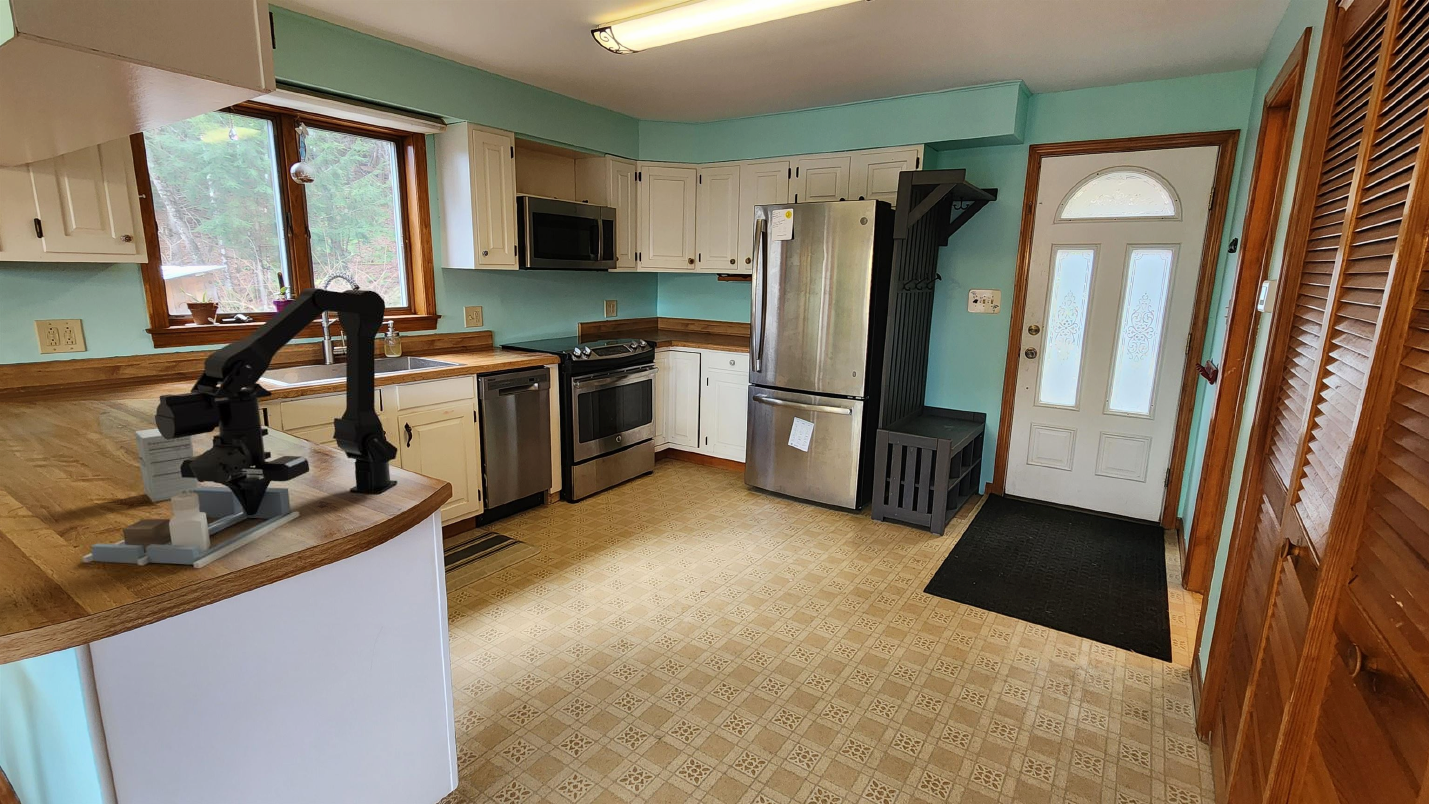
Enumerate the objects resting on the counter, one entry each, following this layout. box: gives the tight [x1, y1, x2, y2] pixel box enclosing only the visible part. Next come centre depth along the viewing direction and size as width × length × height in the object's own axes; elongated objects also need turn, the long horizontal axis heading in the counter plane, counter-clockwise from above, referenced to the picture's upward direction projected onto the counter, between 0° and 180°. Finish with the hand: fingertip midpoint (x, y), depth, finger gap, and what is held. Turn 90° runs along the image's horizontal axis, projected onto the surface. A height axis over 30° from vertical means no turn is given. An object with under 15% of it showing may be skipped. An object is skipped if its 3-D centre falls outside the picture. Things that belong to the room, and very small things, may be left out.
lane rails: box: [81, 511, 300, 569], centre depth 105 cm, size 21×18×1 cm
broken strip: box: [90, 485, 243, 564], centre depth 105 cm, size 20×7×5 cm, turn 176°
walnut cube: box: [122, 518, 171, 553], centre depth 101 cm, size 4×4×4 cm
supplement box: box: [134, 428, 199, 503], centre depth 124 cm, size 7×7×13 cm
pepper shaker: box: [169, 493, 211, 554], centre depth 98 cm, size 4×4×10 cm
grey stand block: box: [146, 487, 292, 566], centre depth 105 cm, size 20×7×5 cm, turn 176°
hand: (252, 514), depth 110 cm, fingers closed
